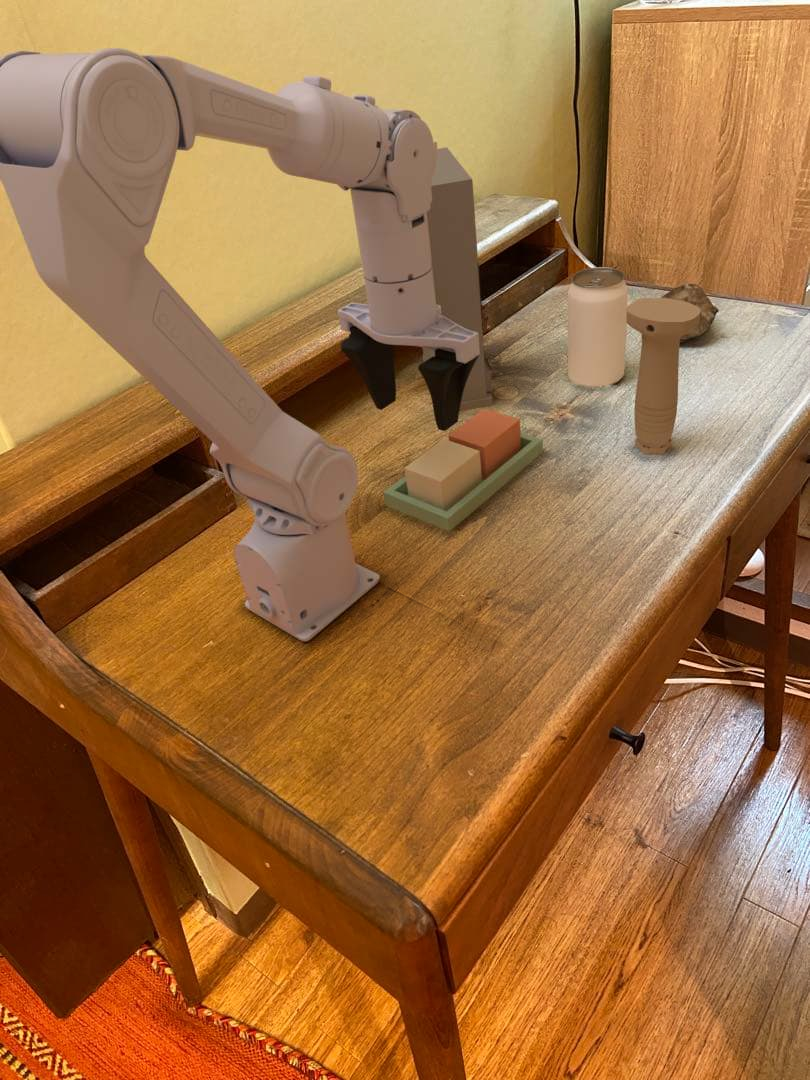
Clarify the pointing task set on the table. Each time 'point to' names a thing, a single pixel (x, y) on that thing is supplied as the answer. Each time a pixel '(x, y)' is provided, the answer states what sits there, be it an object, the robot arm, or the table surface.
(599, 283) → the can
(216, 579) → the table surface
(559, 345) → the table surface
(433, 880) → the table surface
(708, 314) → the fossilized seashell
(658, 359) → the handle
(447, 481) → the beige block
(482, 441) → the orange red block
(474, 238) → the tall grey pillar
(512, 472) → the tray
